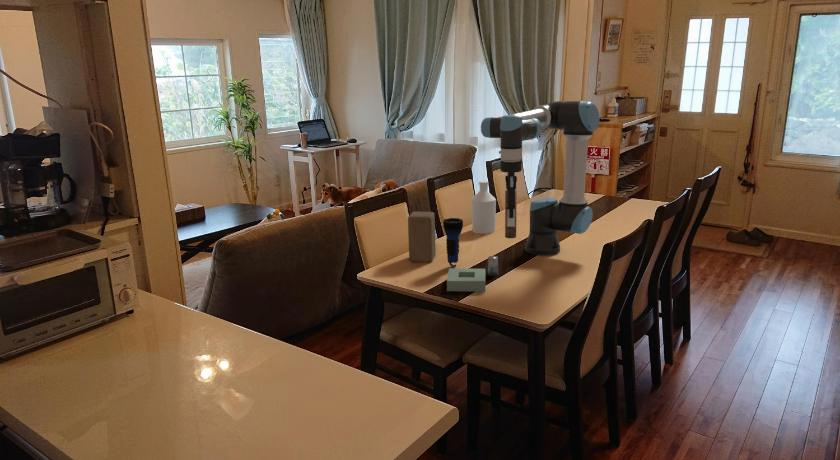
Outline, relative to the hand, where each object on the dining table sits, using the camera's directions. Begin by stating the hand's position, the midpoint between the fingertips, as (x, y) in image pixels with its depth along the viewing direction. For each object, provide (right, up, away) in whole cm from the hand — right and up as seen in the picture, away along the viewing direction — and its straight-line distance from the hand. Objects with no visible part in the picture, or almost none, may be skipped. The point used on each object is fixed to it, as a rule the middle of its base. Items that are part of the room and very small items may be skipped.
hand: (510, 224), depth 214 cm
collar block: (-15, -23, +10) cm, 29 cm away
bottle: (-1, -3, +83) cm, 83 cm away
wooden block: (-32, -15, +42) cm, 54 cm away
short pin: (-4, -20, +20) cm, 28 cm away
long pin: (0, -5, +1) cm, 5 cm away
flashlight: (-19, -18, +30) cm, 39 cm away
